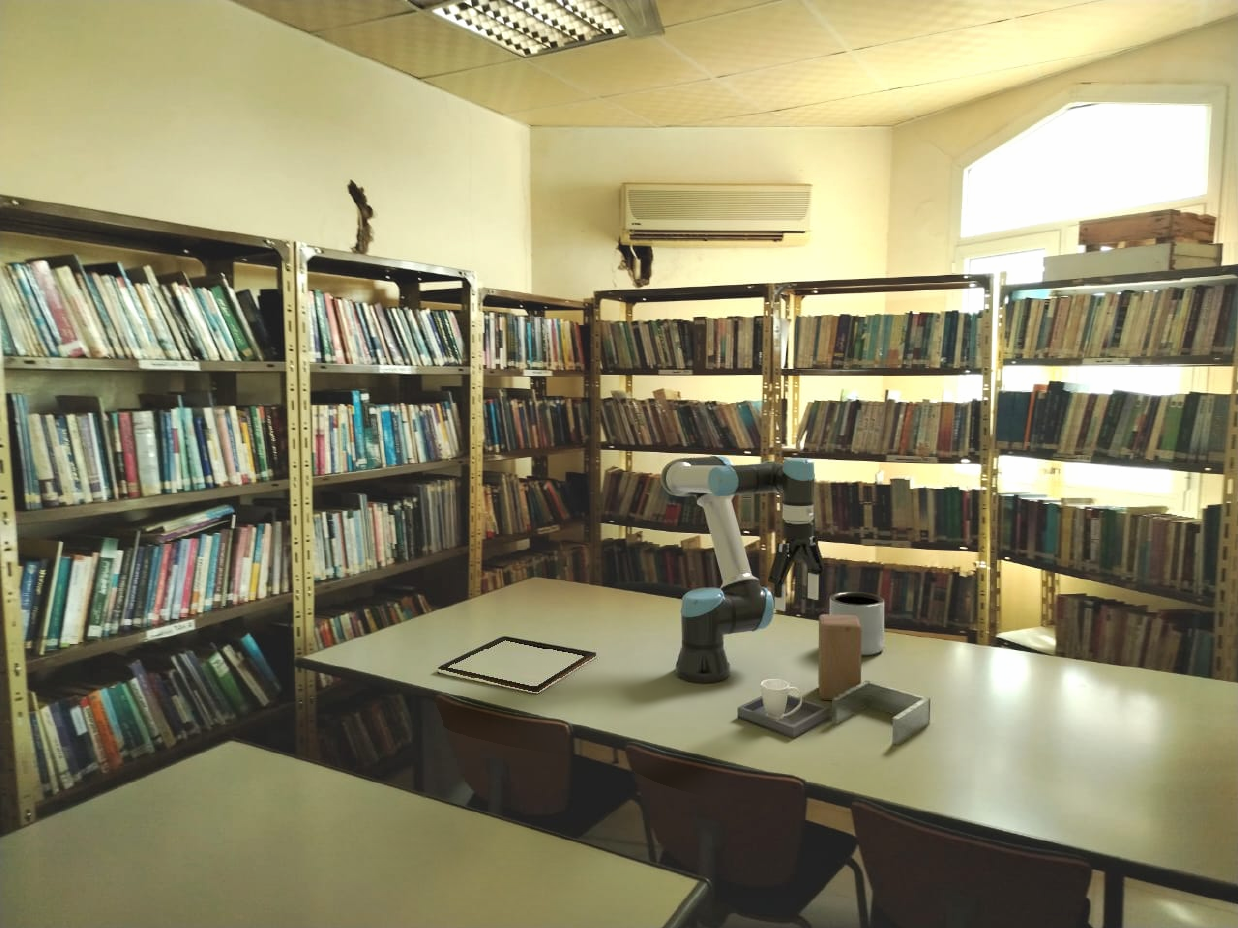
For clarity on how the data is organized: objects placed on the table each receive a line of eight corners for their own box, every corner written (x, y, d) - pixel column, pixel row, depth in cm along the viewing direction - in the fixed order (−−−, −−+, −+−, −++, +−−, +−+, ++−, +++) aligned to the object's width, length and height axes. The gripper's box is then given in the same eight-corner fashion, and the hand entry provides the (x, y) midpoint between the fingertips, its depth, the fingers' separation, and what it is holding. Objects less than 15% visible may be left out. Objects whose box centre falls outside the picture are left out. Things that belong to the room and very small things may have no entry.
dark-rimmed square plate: (428, 679, 217) (427, 669, 217) (493, 641, 250) (493, 633, 250) (549, 699, 203) (549, 688, 203) (602, 656, 236) (602, 647, 235)
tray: (737, 717, 188) (737, 707, 188) (773, 699, 198) (774, 689, 198) (793, 738, 176) (793, 727, 176) (829, 718, 187) (829, 707, 186)
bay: (831, 722, 184) (832, 698, 184) (866, 703, 195) (866, 680, 194) (897, 745, 172) (897, 719, 172) (929, 722, 183) (930, 698, 183)
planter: (895, 649, 234) (896, 599, 232) (860, 661, 225) (861, 608, 223) (852, 636, 247) (852, 588, 245) (817, 646, 238) (818, 596, 236)
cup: (757, 710, 190) (757, 678, 190) (798, 709, 191) (798, 677, 190) (763, 722, 183) (763, 689, 183) (805, 721, 184) (805, 688, 183)
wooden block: (861, 703, 195) (862, 626, 193) (820, 700, 197) (820, 624, 195) (857, 688, 205) (858, 614, 203) (818, 685, 207) (818, 612, 205)
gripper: (778, 530, 181) (777, 618, 184) (839, 516, 198) (838, 597, 200) (753, 525, 187) (753, 610, 189) (815, 512, 203) (813, 591, 206)
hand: (796, 604), depth 195 cm, fingers open, 13 cm apart
